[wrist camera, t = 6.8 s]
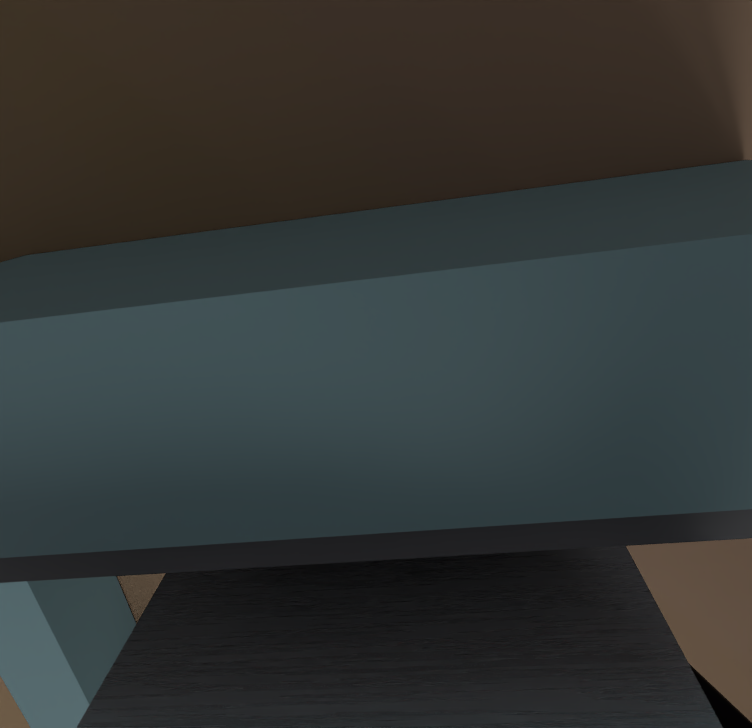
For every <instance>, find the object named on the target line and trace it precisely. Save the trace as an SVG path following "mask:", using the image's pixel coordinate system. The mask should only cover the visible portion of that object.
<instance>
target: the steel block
mask: <svg viewBox="0 0 752 728" xmlns="http://www.w3.org/2000/svg"><path fill="white" fill-rule="evenodd" d="M76 728H723V727H722V725H721V723H720V721H719V719H718V718H717V716H716V714H715V712H714V710H713V708H712V706H711V705H710V703H709V701H708V699H707V697H706V695H705V693H704V691H703V690H702V688H701V686H700V684H699V682H698V680H697V678H696V677H695V675H694V673H693V671H692V669H691V667H690V665H689V663H688V662H687V660H686V658H685V656H684V654H683V652H682V650H681V648H680V647H679V645H678V643H677V641H676V639H675V637H674V635H673V634H672V632H671V630H670V628H669V626H668V624H667V622H666V620H665V619H664V617H663V615H662V613H661V611H660V609H659V607H658V605H657V604H656V602H655V600H654V598H653V596H652V594H651V592H650V591H649V589H648V587H647V585H646V583H645V581H644V579H643V577H642V576H641V574H640V572H639V570H638V568H637V566H636V564H635V563H634V561H633V559H632V557H631V555H630V553H629V551H628V549H627V548H626V546H611V547H595V548H578V549H561V550H544V551H528V552H511V553H494V554H477V555H460V556H444V557H427V558H410V559H393V560H376V561H360V562H343V563H326V564H309V565H292V566H276V567H259V568H242V569H225V570H209V571H192V572H175V573H166V574H165V576H164V577H163V579H162V581H161V583H160V584H159V586H158V588H157V590H156V591H155V593H154V595H153V596H152V598H151V600H150V602H149V603H148V605H147V607H146V608H145V610H144V612H143V614H142V615H141V617H140V619H139V621H138V622H137V624H136V626H135V627H134V629H133V631H132V633H131V634H130V636H129V638H128V640H127V641H126V643H125V645H124V646H123V648H122V650H121V652H120V653H119V655H118V657H117V658H116V660H115V662H114V664H113V665H112V667H111V669H110V671H109V672H108V674H107V676H106V677H105V679H104V681H103V683H102V684H101V686H100V688H99V690H98V691H97V693H96V695H95V696H94V698H93V700H92V702H91V703H90V705H89V707H88V708H87V710H86V712H85V714H84V715H83V717H82V719H81V721H80V722H79V724H78V726H77V727H76Z"/></svg>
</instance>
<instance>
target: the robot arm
mask: <svg viewBox="0 0 752 728" xmlns="http://www.w3.org/2000/svg"><path fill="white" fill-rule="evenodd" d="M689 665H690V664H689ZM690 667H691V669H692V671H693V673H694V675H695V677H696V678H697V680H698V682H699V684H700V686H701V688H702V690H703V691H704V693H705V695H706V697H707V699H708V701H709V703H710V705H711V706H712V708H713V710H714V712H715V714H716V716H717V718H718V719H719V721H720V723H721V725H722V727H723V728H752V723H751V722H750V721H749V720H748V719H747V718H746V717H745V716H744V715H743V714H742V713H741V712H740V711H739V710H738V709H736V708H735V707H734V706H733V705H732V704H731V703H730V702H729V701H728V700H727V699H726V698H725V697H724V696H723V695H722V694H721V693H720V692H718V691H717V690H716V689H715V688H714V687H713V686H712V685H711V684H710V683H709V682H708V681H707V680H706V679H705V678H704V677H703V676H702V675H700V674H699V673H698V672H697V671H696V670H695V669H694V668H693V667H692V666H691V665H690Z"/></svg>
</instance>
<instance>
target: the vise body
mask: <svg viewBox="0 0 752 728" xmlns="http://www.w3.org/2000/svg"><path fill="white" fill-rule="evenodd" d="M746 538H752V160H743V161H735V162H727V163H720V164H712V165H705V166H697V167H690V168H682V169H674V170H667V171H659V172H652V173H644V174H637V175H629V176H622V177H614V178H606V179H599V180H591V181H584V182H576V183H569V184H561V185H553V186H546V187H538V188H531V189H523V190H516V191H508V192H501V193H493V194H485V195H478V196H470V197H463V198H455V199H448V200H440V201H432V202H425V203H417V204H410V205H402V206H395V207H387V208H380V209H372V210H364V211H357V212H349V213H342V214H334V215H327V216H319V217H311V218H304V219H296V220H289V221H281V222H274V223H266V224H259V225H251V226H243V227H236V228H228V229H221V230H213V231H206V232H198V233H190V234H183V235H175V236H168V237H160V238H153V239H145V240H137V241H130V242H122V243H115V244H107V245H100V246H92V247H85V248H77V249H69V250H62V251H54V252H47V253H39V254H32V255H25V256H21V257H18V258H14V259H11V260H7V261H4V262H0V676H1V677H2V679H3V681H4V683H5V684H6V686H7V688H8V689H9V691H10V693H11V695H12V696H13V698H14V700H15V702H16V703H17V705H18V707H19V708H20V710H21V712H22V714H23V715H24V717H25V719H26V720H27V722H28V724H29V726H30V727H31V728H76V727H77V726H78V724H79V722H80V721H81V719H82V717H83V715H84V714H85V712H86V710H87V708H88V707H89V705H90V703H91V702H92V700H93V698H94V696H95V695H96V693H97V691H98V690H99V688H100V686H101V684H102V683H103V681H104V679H105V677H106V676H107V674H108V672H109V671H110V669H111V667H112V665H113V664H114V662H115V660H116V658H117V657H118V655H119V653H120V652H121V650H122V648H123V646H124V645H125V643H126V641H127V640H128V638H129V636H130V634H131V633H132V631H133V629H134V627H135V626H136V622H135V620H134V618H133V615H132V613H131V610H130V608H129V606H128V603H127V601H126V598H125V596H124V594H123V591H122V589H121V587H120V584H119V582H118V579H117V577H116V576H125V575H141V574H158V573H175V572H192V571H209V570H225V569H242V568H259V567H276V566H292V565H309V564H326V563H343V562H360V561H376V560H393V559H410V558H427V557H444V556H460V555H477V554H494V553H511V552H528V551H544V550H561V549H578V548H595V547H611V546H628V545H645V544H662V543H679V542H695V541H712V540H729V539H746Z"/></svg>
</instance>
